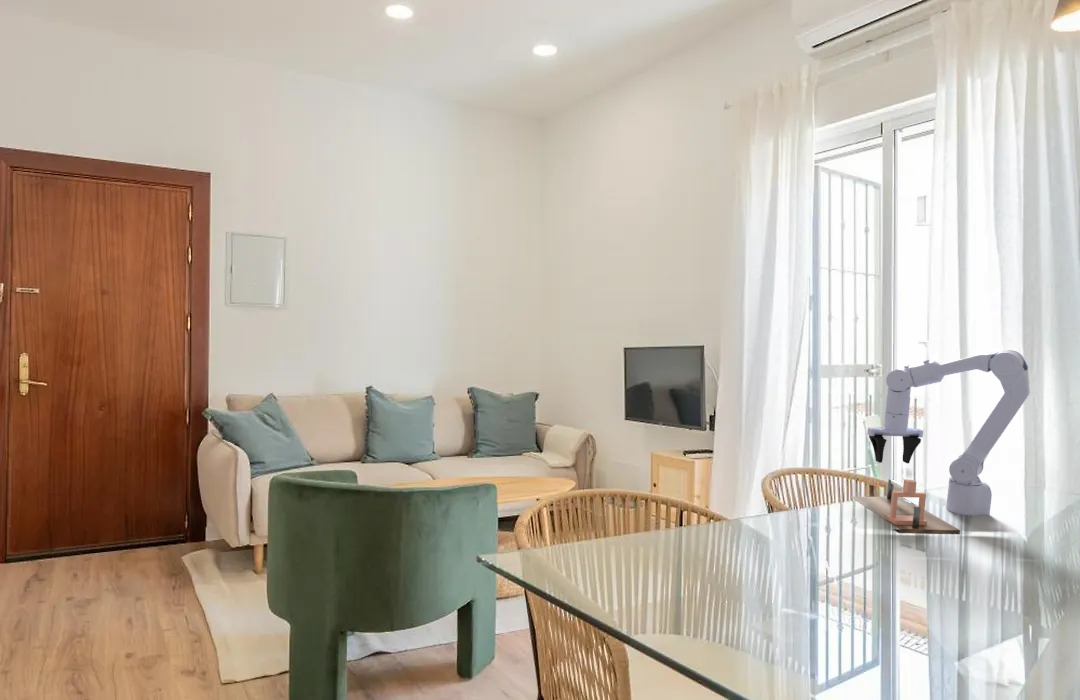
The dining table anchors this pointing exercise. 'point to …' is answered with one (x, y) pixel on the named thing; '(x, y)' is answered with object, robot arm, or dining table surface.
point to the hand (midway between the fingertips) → (892, 462)
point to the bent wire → (905, 502)
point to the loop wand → (908, 491)
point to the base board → (883, 508)
